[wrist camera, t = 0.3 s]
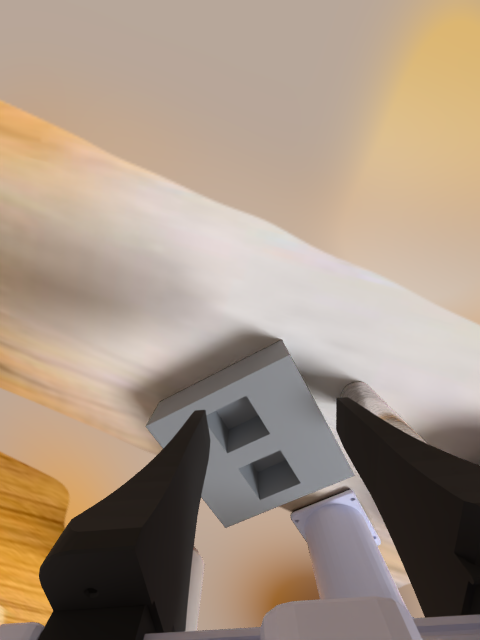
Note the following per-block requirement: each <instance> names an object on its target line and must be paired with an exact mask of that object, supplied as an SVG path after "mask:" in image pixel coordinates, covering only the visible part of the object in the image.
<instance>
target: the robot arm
mask: <svg viewBox="0 0 480 640" xmlns="http://www.w3.org/2000/svg"><path fill="white" fill-rule="evenodd" d="M336 430H337V432H338V435H339V437H340V440H341V442H342V444H343V447H344V449H345V451H346V452H347V454H348V456H349V458H350V459H351V461H352V463H353V465H354V466H355V468H356V470H357V472H358V473H359V475H360V477H361V478H362V480H363V482H364V484H365V485H366V487H367V489H368V491H369V492H370V494H371V496H372V498H373V500H374V502H375V504H376V506H377V508H378V510H379V512H380V514H381V516H382V518H383V521H384V523H385V525H386V527H387V529H388V531H389V534H390V536H391V538H392V540H393V543H394V545H395V547H396V549H397V552H398V554H399V556H400V558H401V561H402V563H403V565H404V568H405V570H406V572H407V575H408V577H409V579H410V582H411V584H412V586H413V589H414V591H415V594H416V596H417V598H418V601H419V603H420V606H421V609H422V611H423V613H424V616H425V618H414V617H411V615H410V613H409V610H408V609H407V607H406V605H405V603H404V601H403V599H402V597H401V595H400V593H399V591H398V588H397V586H396V584H395V582H394V580H393V578H392V576H391V574H390V572H389V570H388V567H387V565H386V563H385V561H384V559H383V557H382V555H381V553H380V551H379V549H378V545H380V544H381V540H380V538H379V537H378V535H377V533H376V531H375V529H374V528H373V526H372V524H371V522H370V520H369V518H368V517H367V515H366V513H365V511H364V509H363V508H362V506H361V504H360V502H359V500H358V499H357V497H356V495H355V493H354V492H353V491H352V490H347V491H345V492H342V493H340V494H337V495H335V496H332V497H330V498H327V499H325V500H322V501H320V502H317V503H315V504H312V505H310V506H307V507H305V508H302V509H300V510H297V511H295V512H292V513H291V515H290V516H291V520H292V521H293V523H294V524H295V526H296V527H297V529H298V530H299V532H300V533H301V535H302V536H303V538H304V539H305V541H306V542H307V544H308V548H309V553H310V557H311V561H312V566H313V570H314V574H315V578H316V583H317V586H318V591H319V595H320V600H308V601H293V602H289V603H284V604H281V605H277V606H276V607H275V608H273V609H272V610H270V611H269V612H268V613H266V615H265V616H264V618H263V622H262V625H261V627H255V628H238V629H220V630H205V631H204V630H203V631H186V632H185V630H186V618H187V606H188V596H189V586H190V576H191V566H192V557H193V548H194V538H195V531H196V523H197V515H198V509H199V504H200V499H201V494H202V490H203V485H204V480H205V475H206V471H207V466H208V461H209V452H210V441H211V440H210V434H209V428H208V422H207V416H206V410H195V411H194V412H193V413H192V414H191V416H190V417H189V418H188V420H187V421H186V422H185V423H184V425H183V426H182V427H181V429H180V430H179V431H178V432H177V433H176V435H175V436H174V437H173V438H172V440H171V441H170V442H169V443H168V444H167V445H166V446H165V447H164V448H163V450H162V451H161V452H160V453H159V454H158V455H157V456H156V457H155V458H154V459H153V460H152V461H151V462H150V463H149V464H148V465H146V466H145V467H144V468H143V469H142V470H141V471H140V472H138V473H137V474H136V475H135V476H134V477H133V478H131V479H130V480H129V481H127V482H126V483H125V484H124V485H122V486H121V487H120V488H119V489H117V490H116V491H114V492H113V493H111V494H110V495H109V496H107V497H106V498H105V499H103V500H101V501H100V502H98V503H97V504H95V505H94V506H92V507H91V508H89V509H87V510H86V511H84V512H83V513H81V514H79V515H78V516H76V517H74V518H73V519H72V520H71V521H70V523H69V524H68V525H67V527H66V528H65V530H64V531H63V533H62V534H61V536H60V537H59V539H58V540H57V542H56V543H55V545H54V546H53V548H52V549H51V551H50V553H49V554H48V556H47V557H46V559H45V560H44V562H43V564H42V565H41V567H40V572H39V579H40V583H41V586H42V588H43V590H44V592H45V594H46V596H47V598H48V600H49V602H50V604H51V607H52V609H53V613H52V614H51V616H50V618H49V620H48V622H47V624H46V626H45V627H44V626H43V625H42V624H39V623H34V622H30V623H13V624H2V625H0V640H480V466H479V465H476V464H474V463H471V462H468V461H466V460H463V459H461V458H458V457H456V456H453V455H451V454H449V453H446V452H444V451H442V450H439V449H437V448H435V447H433V446H431V445H428V444H426V443H424V442H422V441H420V440H418V439H416V438H414V437H412V436H411V435H409V434H407V433H405V432H403V431H401V430H400V429H398V428H396V427H394V426H393V425H391V424H389V423H388V422H386V421H384V420H383V419H381V418H380V417H378V416H376V415H375V414H373V413H372V412H370V411H369V410H367V409H366V408H364V407H363V406H361V405H360V404H358V403H357V402H355V401H353V400H352V399H350V398H349V397H343V398H337V412H336Z"/></svg>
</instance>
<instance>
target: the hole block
mask: <svg viewBox="0 0 480 640" xmlns="http://www.w3.org/2000/svg"><path fill="white" fill-rule="evenodd" d="M195 410H206V416H207V422H208V428H209V434H210V440H211V441H210V452H209V461H208V466H207V471H206V475H205V480H204V485H203V490H202V494H201V497H202V499H203V500H204V501H205V502H206V503H207V505H208V506H209V508H210V509H211V510H212V511H213V513H214V514H215V515H216V516H217V518H218V519H219V520H220V521H221V523H222V524H223V525H224V527H225V528H227V527H229V526H231V525H234V524H236V523H239V522H241V521H244V520H246V519H249V518H251V517H254V516H256V515H259V514H261V513H264V512H266V511H268V510H271V509H273V508H276V507H278V506H281V505H283V504H286V503H288V502H291V501H293V500H296V499H298V498H301V497H303V496H305V495H308V494H310V493H313V492H315V491H318V490H320V489H323V488H325V487H328V486H330V485H333V484H335V483H338V482H340V481H342V480H345V479H347V478H350V477H352V476H355V475H354V473H353V471H352V470H351V468H350V466H349V464H348V462H347V460H346V458H345V456H344V454H343V452H342V451H341V449H340V447H339V445H338V443H337V441H336V439H335V437H334V436H333V434H332V432H331V430H330V428H329V426H328V424H327V423H326V421H325V419H324V417H323V415H322V413H321V411H320V410H319V408H318V406H317V404H316V402H315V400H314V398H313V397H312V395H311V393H310V391H309V389H308V387H307V385H306V384H305V382H304V380H303V378H302V376H301V374H300V372H299V371H298V369H297V367H296V365H295V363H294V361H293V359H292V358H291V356H290V354H289V352H288V350H287V348H286V346H285V345H284V343H283V341H282V340H280V341H278V342H276V343H274V344H272V345H270V346H268V347H267V348H265V349H263V350H261V351H259V352H257V353H255V354H253V355H251V356H249V357H247V358H245V359H243V360H241V361H239V362H237V363H235V364H233V365H231V366H229V367H227V368H225V369H223V370H221V371H219V372H217V373H215V374H214V375H212V376H210V377H208V378H206V379H204V380H202V381H200V382H198V383H196V384H194V385H192V386H190V387H188V388H186V389H184V390H182V391H180V392H178V393H176V394H174V395H172V396H170V397H168V398H166V399H164V400H162V401H161V402H159V404H158V405H157V407H156V409H155V411H154V412H153V414H152V416H151V418H150V420H149V421H148V423H147V425H146V428H147V429H148V430H149V431H150V433H151V434H152V435H153V436H154V438H155V439H156V440H157V441H158V443H159V444H160V445H161V447H162V448H164V447H165V446H166V445H167V444H168V443H169V442H170V441H171V440H172V438H173V437H174V436H175V435H176V433H177V432H178V431H179V430H180V429H181V427H182V426H183V425H184V423H185V422H186V421H187V420H188V418H189V417H190V416H191V414H192V413H193V412H194V411H195Z"/></svg>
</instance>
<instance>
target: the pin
mask: <svg viewBox="0 0 480 640" xmlns="http://www.w3.org/2000/svg"><path fill="white" fill-rule="evenodd" d="M343 397H349V398H350V399H352V400H353V401H355V402H357V403H358V404H360V405H361V406H363V407H364V408H366V409H367V410H369V411H370V412H372V413H373V414H375V415H376V416H378V417H380V418H381V419H383V420H384V421H386V422H388V423H389V424H391V425H393V426H394V427H396V428H398V429H400V430H401V431H403V432H405V433H407V434H409V435H411V436H412V437H414V438H416V439H418V440H420V441H422V442H424V443H426V442H425V441H424V440H423V439H422V438H421V437H420V436H419V435H418V434H417V433H416V432H415V431H414V430H413V429H412V428H411V427H410V426H409V425H408V424H407V423H406V422H405V421H404V420H403V419H402V418H401V417H400V416H399V415H398V414H397V413H396V412H395V411H394V410H393V409H392V408H391V407H390V406H389V405H388V404H387V403H386V402H385V401H384V400H383V399H382V398H381V397H380V396H379V395H378V394H377V393H376V392H375V391H374V390H373V389H372V388H371V387H370V386H369V385H368V384H366V383H364V382H359V381H358V382H353V383H350V384H349V385H347V386H346V387H345V388H344V390H343V392H342V398H343ZM426 444H427V443H426Z"/></svg>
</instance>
